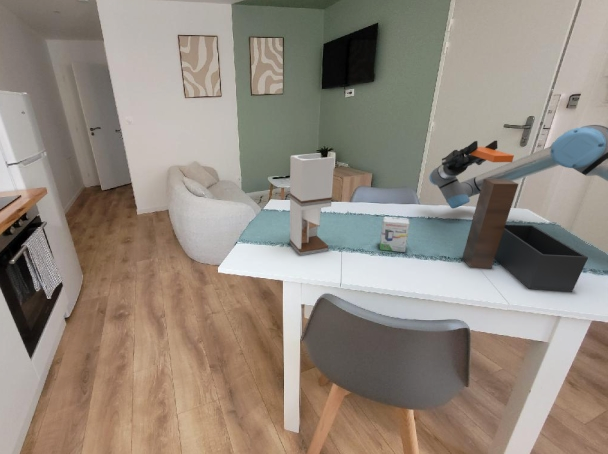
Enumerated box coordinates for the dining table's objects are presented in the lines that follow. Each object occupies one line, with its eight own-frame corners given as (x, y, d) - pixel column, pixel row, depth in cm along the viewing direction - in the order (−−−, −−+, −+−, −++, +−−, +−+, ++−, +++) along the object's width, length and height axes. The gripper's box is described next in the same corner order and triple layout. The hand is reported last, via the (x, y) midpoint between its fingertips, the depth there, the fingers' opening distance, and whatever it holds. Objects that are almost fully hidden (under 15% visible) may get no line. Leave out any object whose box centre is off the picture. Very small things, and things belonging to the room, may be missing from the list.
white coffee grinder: (300, 255, 108) (302, 160, 94) (289, 243, 117) (290, 155, 104) (328, 250, 110) (334, 157, 96) (315, 239, 120) (319, 153, 106)
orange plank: (465, 152, 104) (467, 147, 103) (481, 152, 103) (483, 146, 102) (492, 162, 88) (494, 155, 87) (512, 162, 87) (514, 155, 86)
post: (461, 258, 100) (483, 178, 89) (481, 259, 99) (506, 178, 88) (470, 267, 95) (494, 183, 84) (491, 268, 93) (518, 183, 82)
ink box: (403, 246, 110) (409, 217, 105) (405, 253, 105) (410, 223, 101) (379, 244, 113) (383, 215, 108) (379, 250, 108) (383, 220, 104)
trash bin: (488, 252, 103) (496, 224, 99) (521, 254, 101) (532, 225, 96) (528, 288, 83) (542, 255, 79) (572, 292, 81) (588, 257, 76)
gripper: (428, 158, 121) (455, 134, 99) (477, 158, 117) (517, 133, 95) (428, 176, 120) (455, 155, 98) (478, 176, 116) (518, 155, 94)
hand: (486, 144), depth 96 cm, fingers closed on orange plank, 5 cm apart
